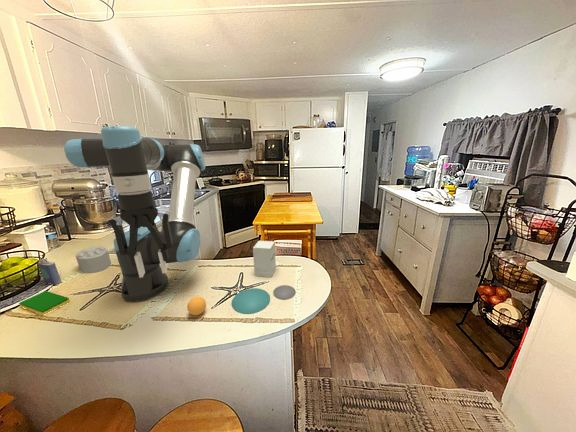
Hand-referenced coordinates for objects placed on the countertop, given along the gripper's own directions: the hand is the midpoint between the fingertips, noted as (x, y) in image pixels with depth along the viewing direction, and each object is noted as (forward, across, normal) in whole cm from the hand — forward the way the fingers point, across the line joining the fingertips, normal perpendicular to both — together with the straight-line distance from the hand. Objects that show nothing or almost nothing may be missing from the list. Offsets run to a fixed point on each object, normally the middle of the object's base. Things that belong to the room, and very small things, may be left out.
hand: (153, 272), depth 63 cm
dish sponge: (+18, -41, +24) cm, 50 cm away
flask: (+17, -48, +41) cm, 65 cm away
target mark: (+17, +26, 0) cm, 31 cm away
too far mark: (+17, +38, 0) cm, 42 cm away
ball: (+14, +10, 0) cm, 17 cm away
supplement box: (+17, +36, +16) cm, 43 cm away
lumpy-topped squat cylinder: (+17, -36, +49) cm, 63 cm away
